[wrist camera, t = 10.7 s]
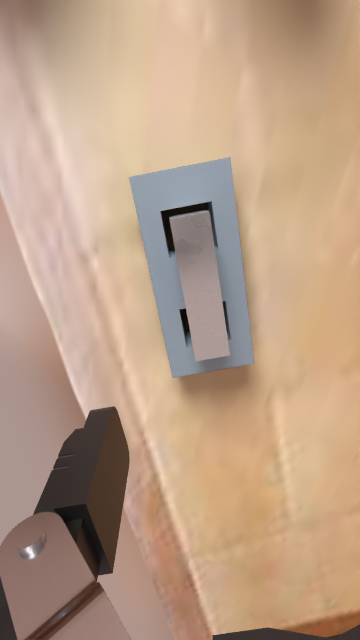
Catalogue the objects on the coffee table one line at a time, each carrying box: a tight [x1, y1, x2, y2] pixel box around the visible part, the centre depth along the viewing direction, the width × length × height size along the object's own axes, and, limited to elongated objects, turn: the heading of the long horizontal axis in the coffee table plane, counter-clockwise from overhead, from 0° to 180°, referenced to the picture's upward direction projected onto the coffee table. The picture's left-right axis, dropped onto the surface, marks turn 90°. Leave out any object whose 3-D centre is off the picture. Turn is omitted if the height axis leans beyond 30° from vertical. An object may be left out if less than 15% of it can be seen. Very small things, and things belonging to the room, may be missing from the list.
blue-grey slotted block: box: [129, 157, 254, 378], centre depth 27 cm, size 7×16×4 cm, turn 10°
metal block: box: [169, 210, 230, 361], centre depth 26 cm, size 2×10×7 cm, turn 11°
